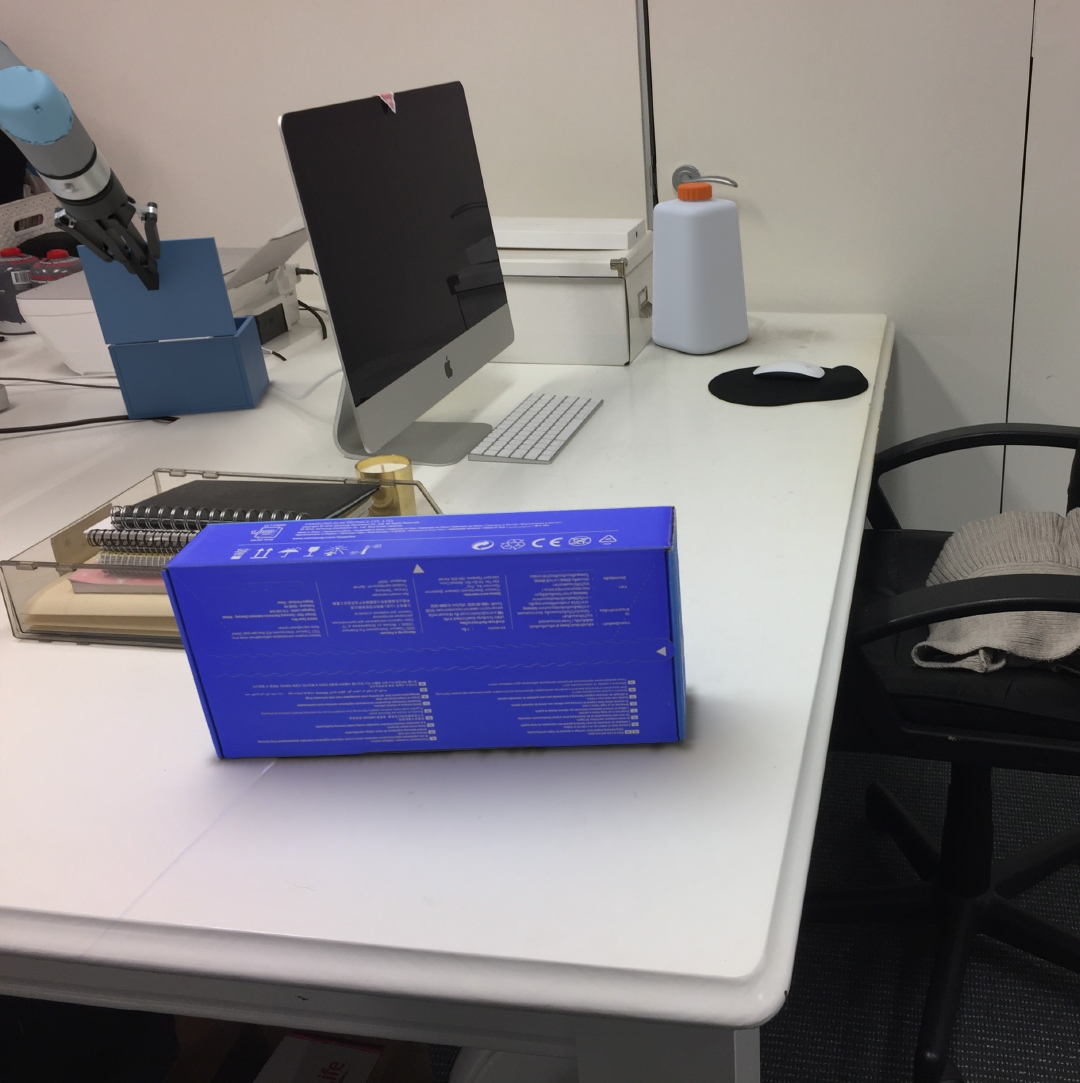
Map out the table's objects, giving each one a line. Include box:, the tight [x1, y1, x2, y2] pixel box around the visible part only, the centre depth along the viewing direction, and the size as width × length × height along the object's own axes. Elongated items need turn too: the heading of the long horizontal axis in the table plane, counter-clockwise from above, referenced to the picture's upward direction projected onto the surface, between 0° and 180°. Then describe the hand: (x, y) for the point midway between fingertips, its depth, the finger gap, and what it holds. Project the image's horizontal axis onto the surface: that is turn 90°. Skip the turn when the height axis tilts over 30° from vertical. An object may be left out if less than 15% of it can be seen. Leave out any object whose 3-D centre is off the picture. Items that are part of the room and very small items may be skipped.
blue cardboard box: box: [160, 504, 687, 760], centre depth 85 cm, size 39×8×18 cm, turn 91°
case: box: [107, 315, 271, 420], centre depth 167 cm, size 14×19×12 cm
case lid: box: [76, 236, 237, 345], centre depth 155 cm, size 14×19×1 cm
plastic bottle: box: [651, 182, 749, 355], centre depth 186 cm, size 15×15×28 cm
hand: (153, 282), depth 153 cm, fingers closed
